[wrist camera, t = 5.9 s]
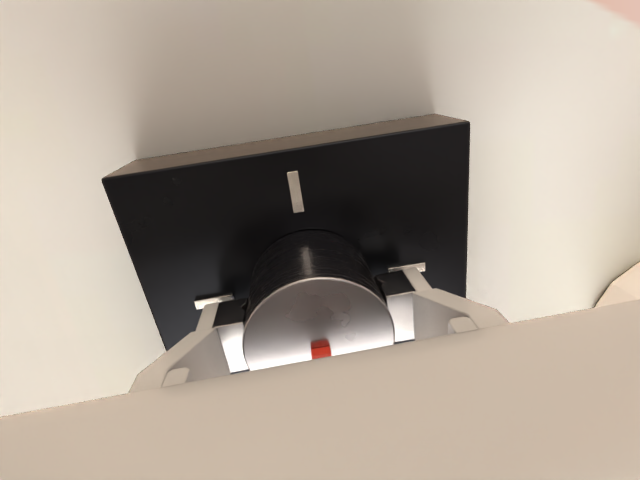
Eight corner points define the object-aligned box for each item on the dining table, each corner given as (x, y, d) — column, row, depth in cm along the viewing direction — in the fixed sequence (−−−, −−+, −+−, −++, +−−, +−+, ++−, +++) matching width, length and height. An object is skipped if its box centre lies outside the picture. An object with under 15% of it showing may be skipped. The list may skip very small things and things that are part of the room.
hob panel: (201, 360, 18) (186, 412, 16) (133, 159, 14) (96, 179, 12) (438, 319, 19) (466, 363, 16) (436, 113, 15) (473, 121, 12)
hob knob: (240, 239, 13) (224, 297, 9) (365, 221, 13) (396, 271, 10) (262, 341, 15) (257, 422, 11) (372, 324, 15) (400, 398, 11)
